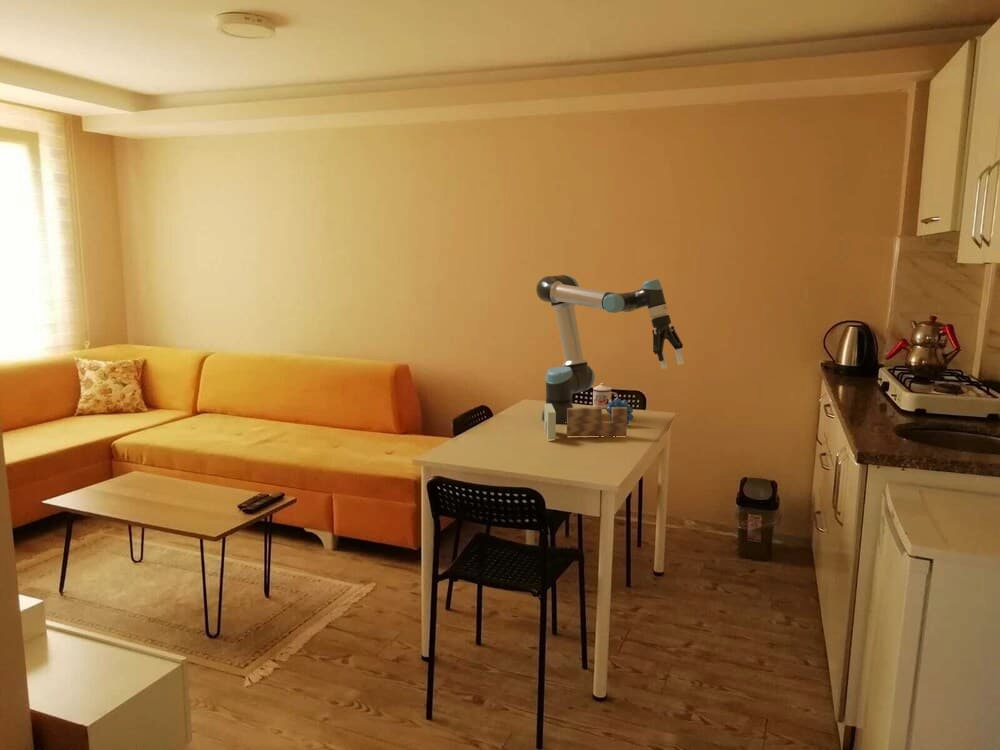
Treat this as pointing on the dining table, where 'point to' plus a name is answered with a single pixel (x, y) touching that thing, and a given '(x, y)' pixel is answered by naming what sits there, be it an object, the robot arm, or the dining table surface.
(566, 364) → the robot arm
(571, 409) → the slotted board
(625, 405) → the grapes
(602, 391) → the teacup with lid
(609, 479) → the dining table surface
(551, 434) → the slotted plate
